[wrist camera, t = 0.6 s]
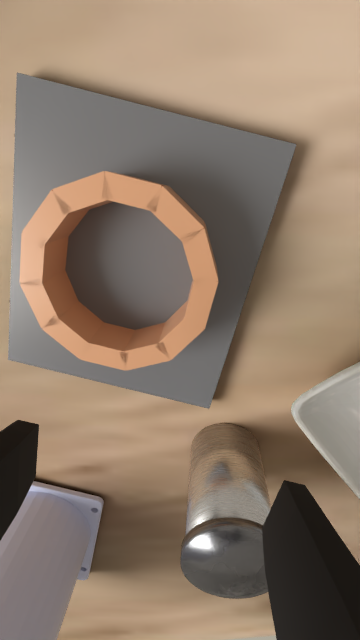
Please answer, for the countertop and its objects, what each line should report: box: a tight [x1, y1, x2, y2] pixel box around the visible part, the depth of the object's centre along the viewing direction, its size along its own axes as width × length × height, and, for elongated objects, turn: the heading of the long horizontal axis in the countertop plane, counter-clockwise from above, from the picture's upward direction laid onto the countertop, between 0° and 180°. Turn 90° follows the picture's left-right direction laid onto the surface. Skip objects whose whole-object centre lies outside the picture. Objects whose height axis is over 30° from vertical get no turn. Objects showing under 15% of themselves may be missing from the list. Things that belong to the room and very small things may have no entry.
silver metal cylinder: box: [181, 423, 271, 599], centre depth 18 cm, size 5×5×7 cm
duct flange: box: [8, 73, 296, 409], centre depth 15 cm, size 14×12×3 cm
